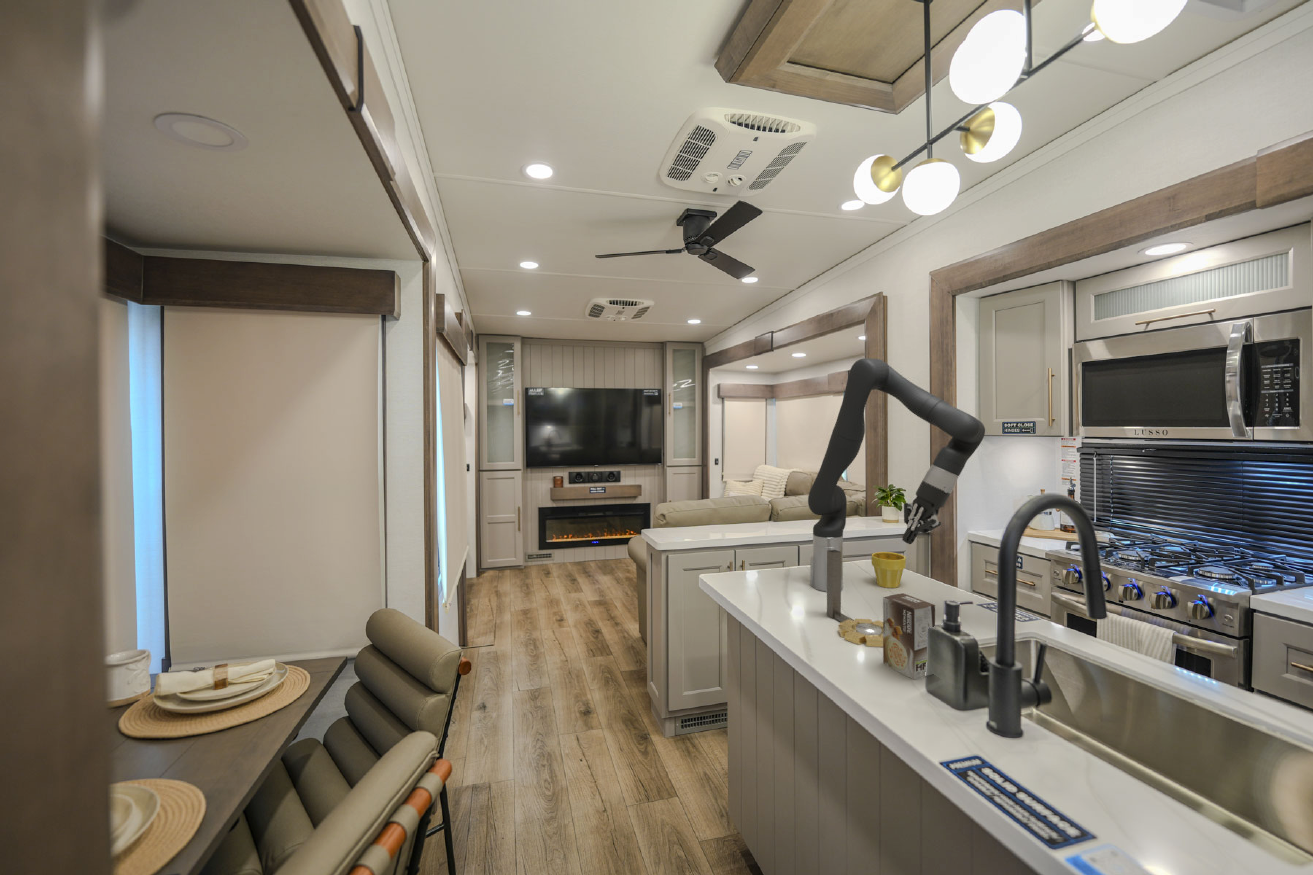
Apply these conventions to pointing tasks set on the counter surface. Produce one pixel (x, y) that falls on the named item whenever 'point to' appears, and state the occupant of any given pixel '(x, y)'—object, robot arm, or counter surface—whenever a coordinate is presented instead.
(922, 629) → the coffee box
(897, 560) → the plant pot
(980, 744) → the counter surface
